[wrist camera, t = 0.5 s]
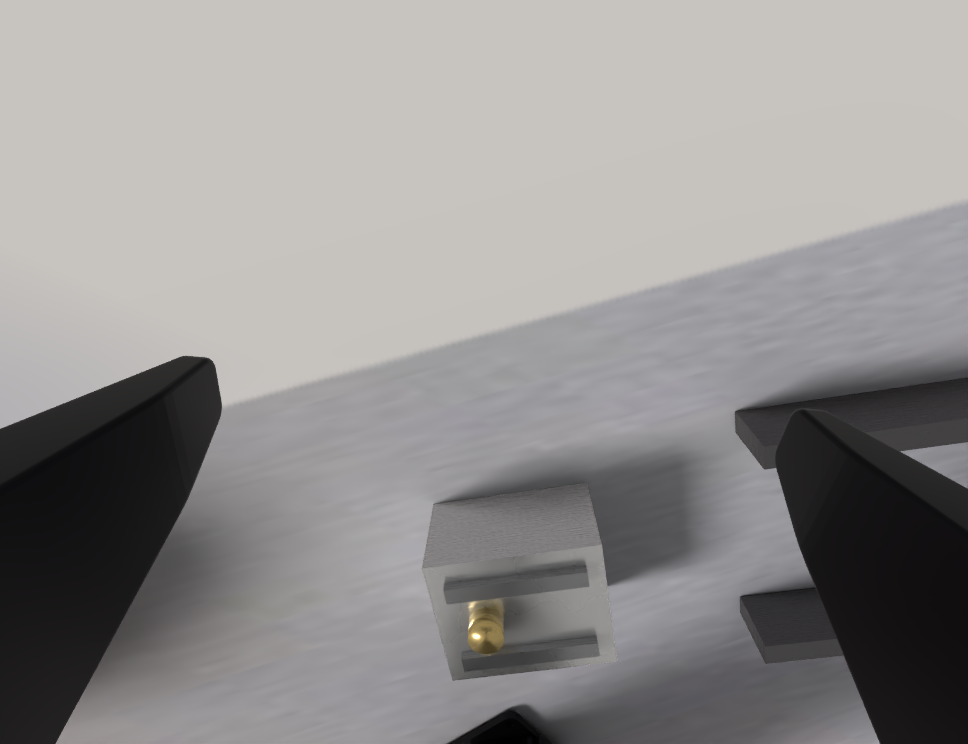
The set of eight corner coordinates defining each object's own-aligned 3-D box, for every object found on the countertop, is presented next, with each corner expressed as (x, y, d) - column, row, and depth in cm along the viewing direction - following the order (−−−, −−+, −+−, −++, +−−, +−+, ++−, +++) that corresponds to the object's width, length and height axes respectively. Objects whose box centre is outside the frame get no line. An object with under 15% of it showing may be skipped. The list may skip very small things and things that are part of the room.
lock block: (459, 603, 30) (450, 701, 25) (433, 502, 28) (418, 586, 22) (600, 585, 29) (622, 682, 24) (586, 480, 27) (606, 562, 22)
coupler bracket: (740, 612, 29) (765, 663, 26) (735, 411, 25) (764, 446, 22) (1052, 577, 28) (1113, 626, 25) (1099, 358, 24) (1178, 389, 21)
